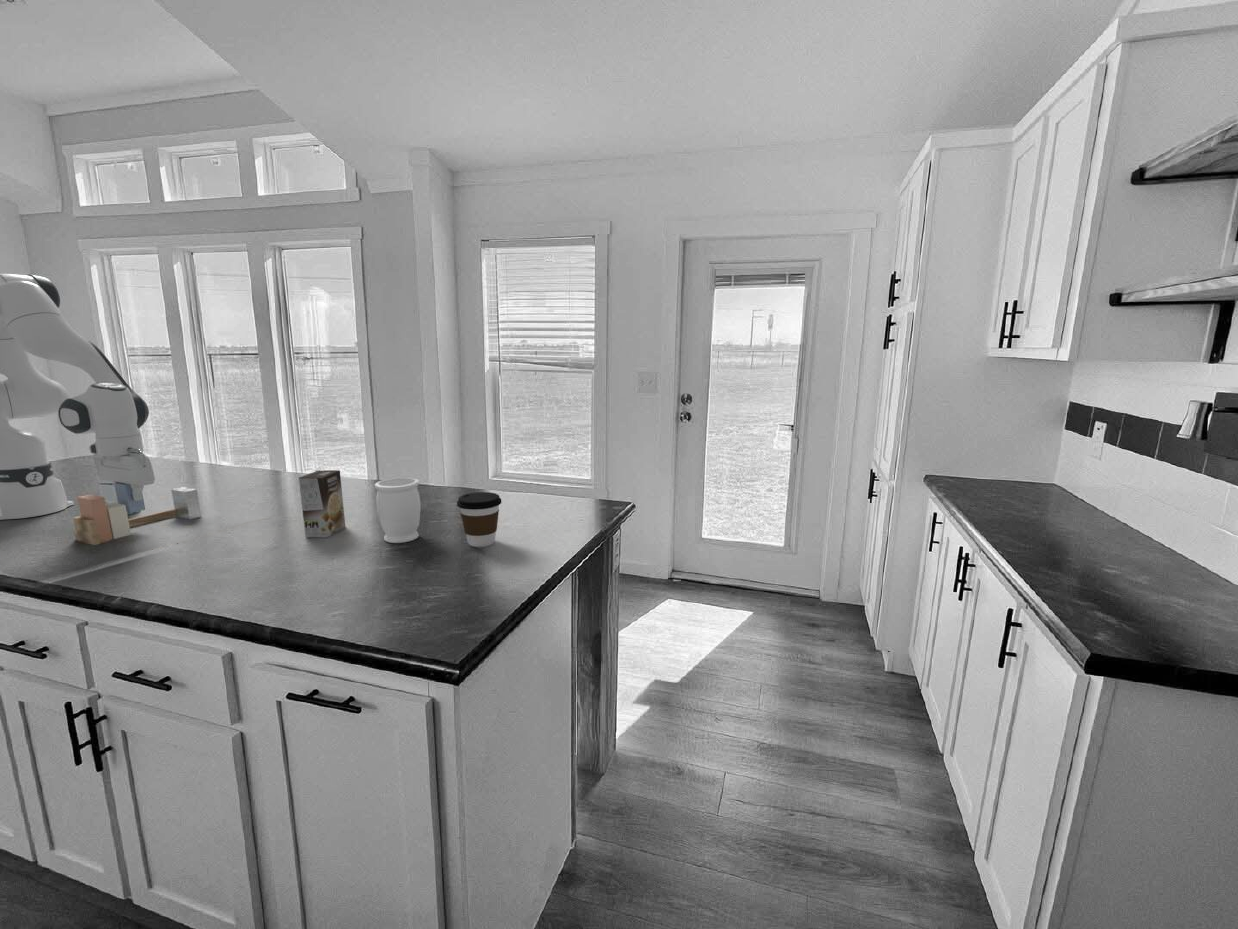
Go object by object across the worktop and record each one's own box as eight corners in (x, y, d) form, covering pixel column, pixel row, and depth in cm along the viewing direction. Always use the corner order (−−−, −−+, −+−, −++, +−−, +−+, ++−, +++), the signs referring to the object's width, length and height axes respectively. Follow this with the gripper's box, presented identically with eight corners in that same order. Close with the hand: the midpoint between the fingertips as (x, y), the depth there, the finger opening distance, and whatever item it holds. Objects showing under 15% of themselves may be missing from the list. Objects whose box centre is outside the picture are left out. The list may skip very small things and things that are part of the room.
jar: (431, 535, 151) (427, 479, 148) (401, 547, 142) (396, 489, 138) (401, 529, 155) (396, 475, 152) (370, 541, 146) (365, 484, 143)
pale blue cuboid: (119, 510, 150) (114, 483, 149) (134, 507, 153) (129, 480, 152) (130, 513, 148) (124, 484, 146) (145, 509, 151) (140, 482, 149)
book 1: (86, 538, 145) (77, 497, 143) (99, 535, 148) (91, 494, 145) (99, 542, 142) (90, 500, 140) (112, 539, 145) (104, 497, 143)
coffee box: (328, 538, 149) (322, 477, 145) (304, 537, 149) (297, 477, 145) (346, 526, 158) (340, 469, 154) (323, 526, 158) (317, 469, 154)
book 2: (99, 535, 148) (93, 505, 146) (116, 531, 151) (110, 501, 149) (114, 539, 145) (108, 508, 143) (131, 534, 148) (125, 505, 146)
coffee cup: (450, 547, 142) (447, 500, 139) (475, 533, 152) (472, 489, 149) (488, 553, 138) (485, 505, 135) (511, 538, 148) (509, 493, 145)
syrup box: (121, 520, 163) (112, 471, 160) (105, 519, 164) (95, 470, 161) (141, 515, 168) (132, 466, 165) (125, 513, 170) (116, 466, 167)
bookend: (176, 516, 163) (171, 489, 161) (187, 513, 166) (183, 487, 164) (189, 519, 160) (185, 491, 159) (201, 516, 163) (196, 489, 161)
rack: (76, 543, 145) (70, 517, 143) (185, 516, 167) (181, 493, 165) (95, 548, 141) (89, 521, 140) (203, 520, 163) (199, 496, 162)
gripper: (157, 447, 145) (166, 500, 148) (114, 442, 154) (124, 492, 157) (127, 451, 140) (138, 506, 143) (85, 446, 149) (95, 497, 151)
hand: (130, 498), depth 150 cm, fingers closed on pale blue cuboid, 5 cm apart
